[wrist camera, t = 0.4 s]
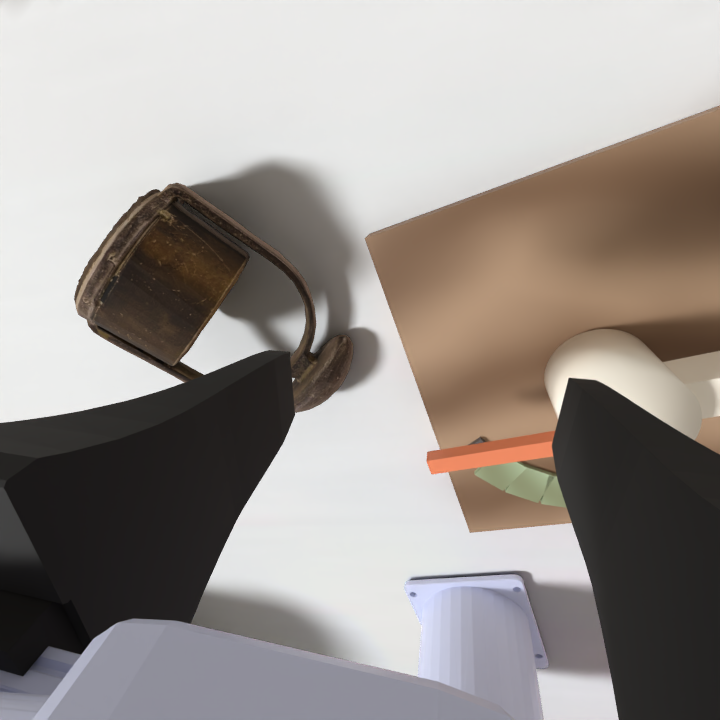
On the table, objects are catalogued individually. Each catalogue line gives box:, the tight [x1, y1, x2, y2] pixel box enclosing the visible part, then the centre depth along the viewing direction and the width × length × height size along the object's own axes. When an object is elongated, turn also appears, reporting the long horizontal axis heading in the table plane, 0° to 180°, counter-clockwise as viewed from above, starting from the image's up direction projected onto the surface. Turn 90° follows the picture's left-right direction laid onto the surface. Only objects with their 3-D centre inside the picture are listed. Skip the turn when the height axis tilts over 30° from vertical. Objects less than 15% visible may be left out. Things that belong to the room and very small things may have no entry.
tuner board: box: [365, 106, 720, 533], centre depth 19 cm, size 18×18×2 cm
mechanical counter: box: [74, 183, 353, 413], centre depth 19 cm, size 7×13×10 cm
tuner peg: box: [427, 329, 720, 474], centre depth 16 cm, size 16×4×5 cm, turn 111°
